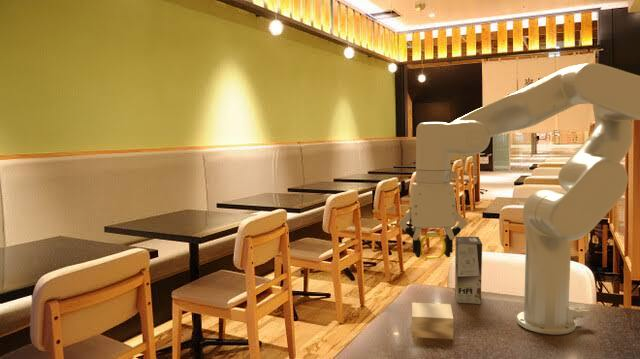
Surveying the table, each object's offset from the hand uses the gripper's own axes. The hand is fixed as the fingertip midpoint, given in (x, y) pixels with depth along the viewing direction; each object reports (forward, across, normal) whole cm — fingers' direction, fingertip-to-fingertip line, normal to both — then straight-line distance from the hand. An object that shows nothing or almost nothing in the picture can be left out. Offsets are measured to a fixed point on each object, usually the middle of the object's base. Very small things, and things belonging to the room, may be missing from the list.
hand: (432, 255), depth 118 cm
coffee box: (+18, -14, -21) cm, 31 cm away
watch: (+1, 0, 0) cm, 1 cm away
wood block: (+18, 0, 0) cm, 18 cm away
